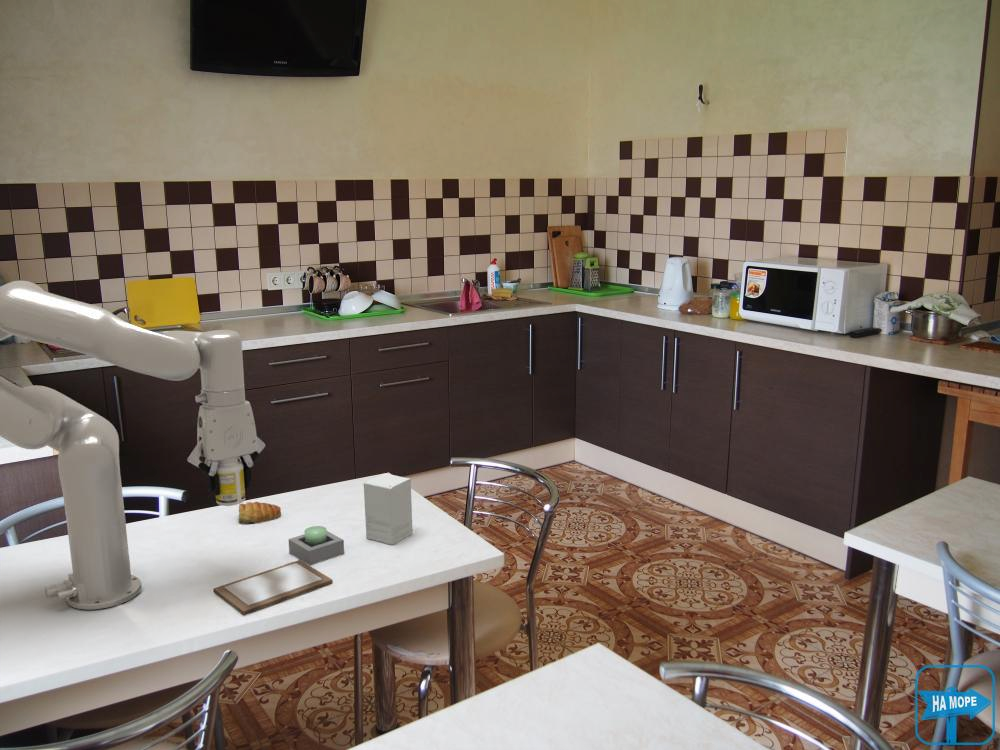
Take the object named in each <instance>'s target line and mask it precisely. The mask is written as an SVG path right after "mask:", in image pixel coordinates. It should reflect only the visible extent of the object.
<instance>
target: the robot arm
mask: <svg viewBox="0 0 1000 750" xmlns="http://www.w3.org/2000/svg"><path fill="white" fill-rule="evenodd" d="M12 336H15V337H18V338H22V339H26V340H30V341H34V342H38V343H42V344H46V345H50V346H53V347H57V348H61V349H66V350H69V351H72V352H77V353H78V354H79V353H81V354H82V355H87V356H89V357H91V358H93V359H97V360H99V361H103V362H105V363H109V364H111V365H114V366H117V367H119V368H122V369H127V370H129V371H132V372H135V373H138V374H142V375H147V376H151V377H155V378H159V379H163V380H167V381H176V382H177V381H178V382H179V381H184V380H187V379H189V378H191V377H192V376H193V375H195V373H197V371H198V370H200V380H201V381H200V382H201V389H200V394H198V395H195V402H196V403H201V404H202V405H200V406H199V410H198V417H197V428H196V429H197V430H196V431H197V432H196V433H197V435H196V437H197V438H196V439H197V443H196V445H195V447H194V448H193V450H192V452H190V455H189V456H188V457H187V462H188V463H190V464H192V465H194V466H195V467H197V468H198V469H199V470H200V471H202V472H203V473H205V477H206V488H207V490H208V491H209V493H211V494H212V495H213V496H215V497H216V496H217V495H219V494H220V487H219V476H218V475H217V474H216V469H217V465H218V461H222V460H227V459H232V458H236V457H239V459H238V460H239V461H240V462H241V463H242V464H243V470H244V485H245V489H249V488H251V481H252V470H251V469H252V467H253V466H254V462H255V461H256V459H257V458H258V457H259V454H260V453H261V452H262V451H263V450H264V449H265V448H266V443H265V442H264V441H263V440H262V439H261V438H260V437H258V436H257V427H256V424H255V423H256V421H255V418H254V417H255V416H254V413H253V408H252V406H251V403H250V401H248V400H246V393H245V392H246V391H245V376H244V373H245V372H244V360H243V359H244V358H243V342H242V337H241V334H240V333H239V332H237V331H234V330H232V329H216V330H209V331H189V330H169V331H166V332H164V333H159V332H156V331H153V330H152V331H151V330H148V329H146V328H142V327H139V326H136V325H134V324H132V323H129V322H127V321H125V320H123V319H121V318H119V317H118V316H117V315H115V314H114V313H112V312H111V311H109V310H108V309H105V308H103V307H100V306H98V305H95V304H92V303H91V304H90V303H87V302H84V301H79V300H75V299H72V298H68V297H65V296H62V295H59V294H55V293H51V292H48V291H44V288H42V287H41V286H40V285H39V284H36V283H34V282H32V281H27V280H14V281H10V282H7V283H5V284H4V285H1V286H0V341H3V340H5V339H7V338H11V337H12ZM0 438H3V439H4V440H6V441H8V442H9V443H11V444H13V445H15V446H17V447H19V448H21V449H24V450H39V449H43V448H46V446H47V447H49V448H51V449H53V450H55V451H57V452H58V456H57V457H58V458H57V467H58V469H57V470H58V473H59V475H58V476H59V480H60V485H61V490H62V496H63V498H62V499H63V505H64V513H65V520H66V527H67V528H66V529H67V535H68V542H69V543H68V545H69V552H70V559H71V568H72V573H69V574H68V575H67V577H68V579H67V580H63V582H62V583H59V584H55V585H52V586H47V587H45V588H44V594H45V597H46V599H48V600H49V599H51V598H54V597H57V600H58V601H60V600H64V599H65V600H66V604H68V605H69V606H70V607H73V609H78V610H87V611H88V610H89V611H90V610H101V609H107V608H111V607H115V606H117V605H121V604H123V603H126V602H128V601H129V600H132V599H133V598H135V597H136V596H137V595H138V594H139V593H140V591H141V590H142V581H141V579H140V578H139V577H138V576H136V575H133V574H132V571H131V562H130V561H131V560H130V553H129V541H128V534H127V522H126V515H125V505H124V497H123V487H122V477H121V468H120V439H119V433H118V431H117V429H116V428H115V426H114V425H113V424H112V423H111V422H110V421H109V420H108V419H106V418H105V417H103V416H101V415H100V414H98V413H97V412H95V411H93V410H92V409H90V408H88V407H86V406H84V405H83V404H81V403H79V402H77V401H76V400H74V399H72V398H71V397H68V396H67V395H66V394H63V393H62V392H59V391H57V389H54V388H51V387H48V386H44V385H28V386H25V387H20V386H19V385H17V384H15V383H13V382H11V381H9V380H7V379H6V378H4V377H3V376H1V375H0ZM200 457H202V458H203V457H204V458H205V461H204V462H203V461H201V460H200Z"/></svg>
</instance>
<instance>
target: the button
mask: <svg viewBox="0 0 1000 750" xmlns="http://www.w3.org/2000/svg"><path fill="white" fill-rule="evenodd" d="M327 531H328V530H327V527H326V526H322V525H313V526H309V527H307V528H305V530H304V532H303V533H304V534H305V542H306V543H309V544H318V543H322V542H325V541H326V540H327Z"/></svg>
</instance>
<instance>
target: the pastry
mask: <svg viewBox="0 0 1000 750" xmlns="http://www.w3.org/2000/svg"><path fill="white" fill-rule="evenodd" d="M280 516H282V511H281V507H280V506H278V505H276V504H271V503H267V502H258V501H254V502H251V501H248V502H246V503H240V504H238V519H237V521H238V522H239V523H242V524H245V525H246V524H250V523H254V524H255V523H256V524H257V523H261V522H268V521H273V520H275V519H278V518H279V517H280Z"/></svg>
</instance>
